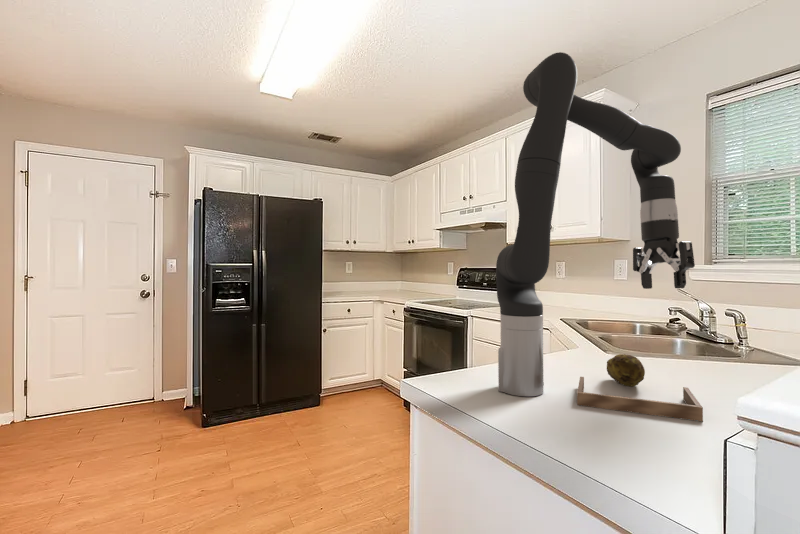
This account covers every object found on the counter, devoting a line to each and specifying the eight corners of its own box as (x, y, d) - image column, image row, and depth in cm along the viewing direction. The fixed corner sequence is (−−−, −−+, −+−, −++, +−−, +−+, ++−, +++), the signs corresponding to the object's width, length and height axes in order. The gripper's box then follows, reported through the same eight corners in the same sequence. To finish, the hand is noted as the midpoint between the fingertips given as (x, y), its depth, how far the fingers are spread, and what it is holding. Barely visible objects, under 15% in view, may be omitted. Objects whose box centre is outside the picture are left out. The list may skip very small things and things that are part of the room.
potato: (646, 382, 98) (646, 349, 98) (644, 396, 87) (643, 359, 87) (608, 377, 102) (607, 346, 102) (601, 390, 91) (601, 355, 91)
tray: (577, 405, 82) (577, 392, 82) (580, 387, 94) (580, 376, 94) (702, 421, 72) (702, 407, 72) (688, 399, 85) (687, 387, 85)
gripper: (622, 225, 102) (625, 289, 101) (673, 214, 89) (678, 288, 88) (646, 225, 104) (649, 288, 103) (700, 215, 91) (705, 287, 90)
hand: (663, 288), depth 95 cm, fingers open, 8 cm apart
